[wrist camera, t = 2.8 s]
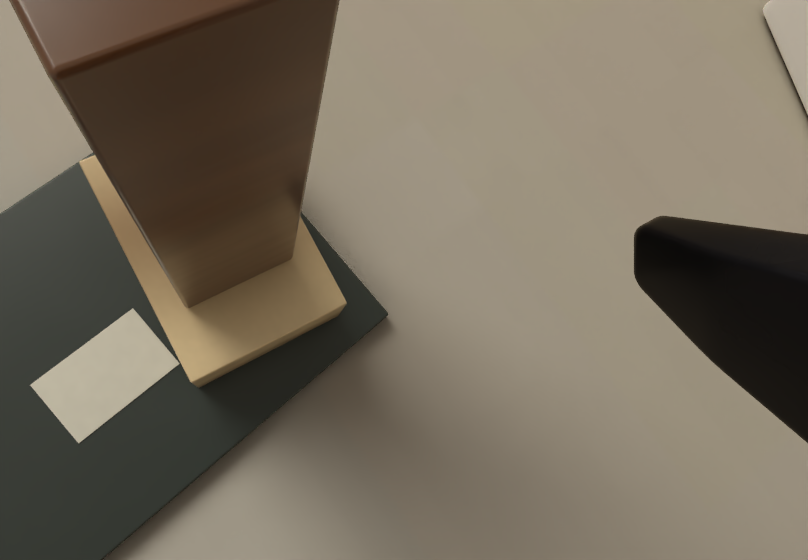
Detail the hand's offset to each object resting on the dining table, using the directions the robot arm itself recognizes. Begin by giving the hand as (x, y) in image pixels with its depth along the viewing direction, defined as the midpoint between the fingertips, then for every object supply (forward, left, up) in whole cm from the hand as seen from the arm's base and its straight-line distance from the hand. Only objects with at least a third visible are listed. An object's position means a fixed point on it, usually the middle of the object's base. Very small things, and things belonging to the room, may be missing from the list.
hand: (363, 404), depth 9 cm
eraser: (+1, -5, -11) cm, 13 cm away
